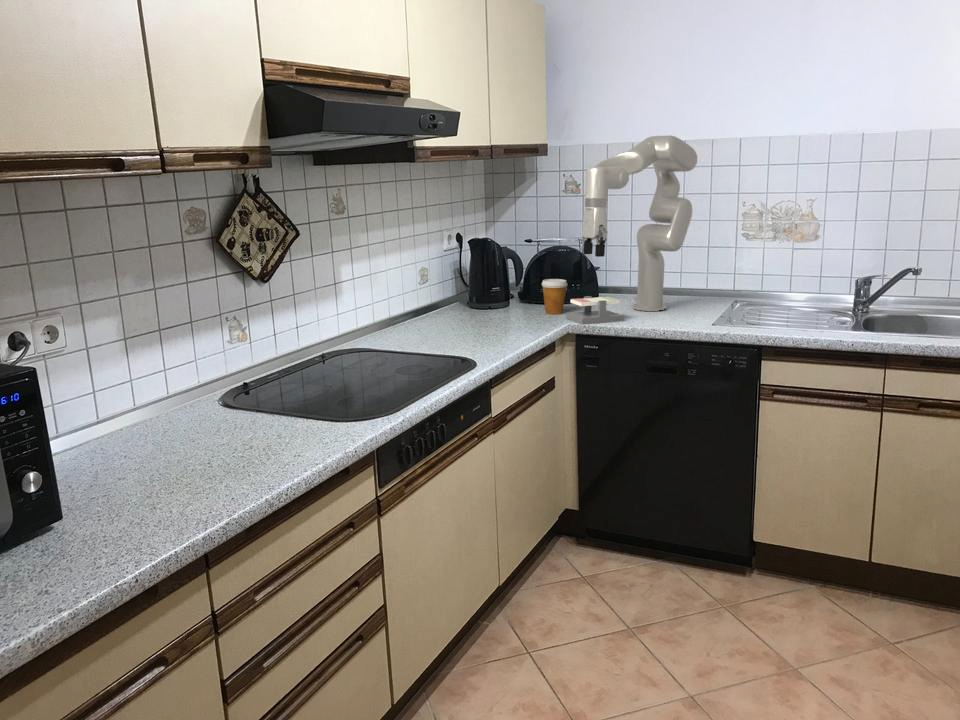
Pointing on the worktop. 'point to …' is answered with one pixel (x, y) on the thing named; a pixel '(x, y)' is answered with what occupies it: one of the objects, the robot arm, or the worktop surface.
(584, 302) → the breaker rocker
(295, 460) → the worktop surface
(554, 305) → the disposable coffee cup
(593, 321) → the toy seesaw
